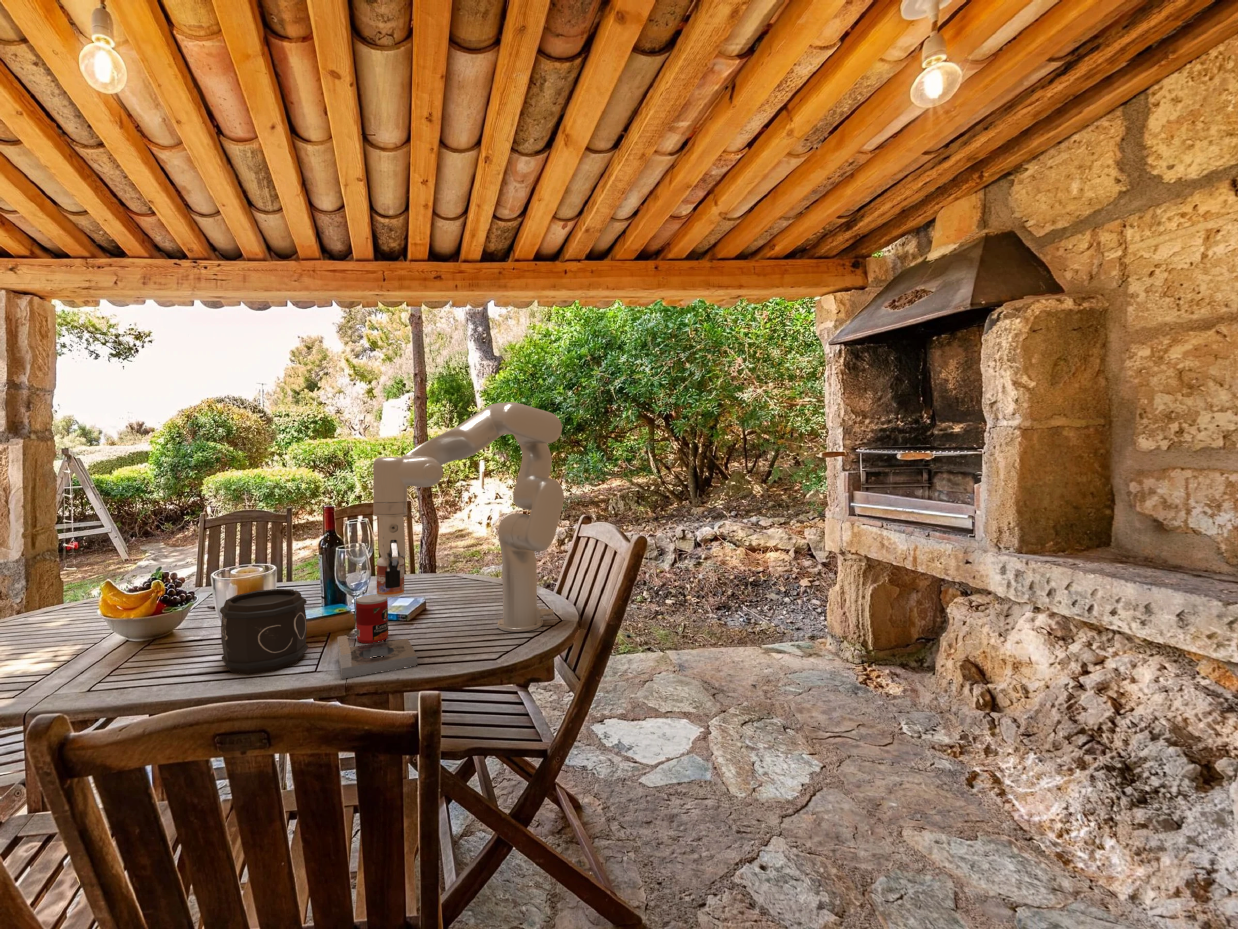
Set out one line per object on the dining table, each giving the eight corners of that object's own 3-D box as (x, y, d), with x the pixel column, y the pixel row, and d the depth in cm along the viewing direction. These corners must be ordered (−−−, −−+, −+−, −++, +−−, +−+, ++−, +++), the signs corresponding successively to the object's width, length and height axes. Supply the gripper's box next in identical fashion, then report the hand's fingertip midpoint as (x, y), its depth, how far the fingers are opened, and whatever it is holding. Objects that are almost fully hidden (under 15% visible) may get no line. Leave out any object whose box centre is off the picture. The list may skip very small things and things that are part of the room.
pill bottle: (371, 595, 145) (371, 548, 145) (395, 590, 150) (395, 545, 149) (385, 599, 141) (385, 551, 141) (409, 594, 146) (409, 548, 145)
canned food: (377, 644, 157) (376, 602, 157) (350, 643, 159) (349, 601, 158) (394, 635, 165) (393, 595, 164) (367, 633, 166) (366, 593, 166)
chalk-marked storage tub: (325, 650, 153) (324, 588, 152) (271, 678, 136) (269, 608, 135) (264, 646, 157) (262, 585, 156) (203, 672, 139) (200, 604, 139)
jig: (407, 648, 154) (407, 626, 154) (417, 666, 142) (416, 643, 142) (338, 659, 147) (337, 636, 147) (341, 679, 135) (341, 654, 134)
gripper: (413, 512, 139) (413, 590, 139) (401, 505, 154) (401, 576, 155) (378, 513, 135) (378, 594, 136) (369, 506, 151) (369, 579, 151)
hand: (390, 583), depth 145 cm, fingers closed on pill bottle, 6 cm apart
